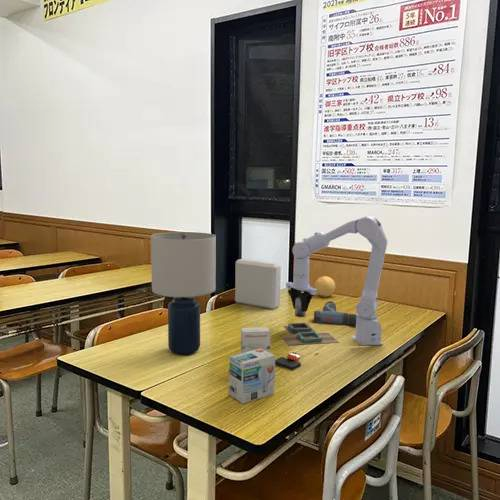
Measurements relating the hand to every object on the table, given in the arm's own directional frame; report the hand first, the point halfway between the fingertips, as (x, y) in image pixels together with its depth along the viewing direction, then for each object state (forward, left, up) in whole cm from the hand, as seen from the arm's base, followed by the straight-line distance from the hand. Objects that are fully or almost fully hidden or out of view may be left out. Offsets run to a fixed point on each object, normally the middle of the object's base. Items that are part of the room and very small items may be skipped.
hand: (300, 309), depth 175 cm
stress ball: (+49, -29, -8) cm, 58 cm away
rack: (-11, 0, -8) cm, 14 cm away
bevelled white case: (+39, +7, -8) cm, 41 cm away
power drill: (+13, -21, -9) cm, 26 cm away
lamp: (-13, +44, -8) cm, 47 cm away
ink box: (-30, +24, -8) cm, 39 cm away
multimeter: (-25, +10, -9) cm, 29 cm away
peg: (0, 0, -2) cm, 2 cm away
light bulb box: (-48, +29, -8) cm, 57 cm away
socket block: (0, 0, -8) cm, 8 cm away
